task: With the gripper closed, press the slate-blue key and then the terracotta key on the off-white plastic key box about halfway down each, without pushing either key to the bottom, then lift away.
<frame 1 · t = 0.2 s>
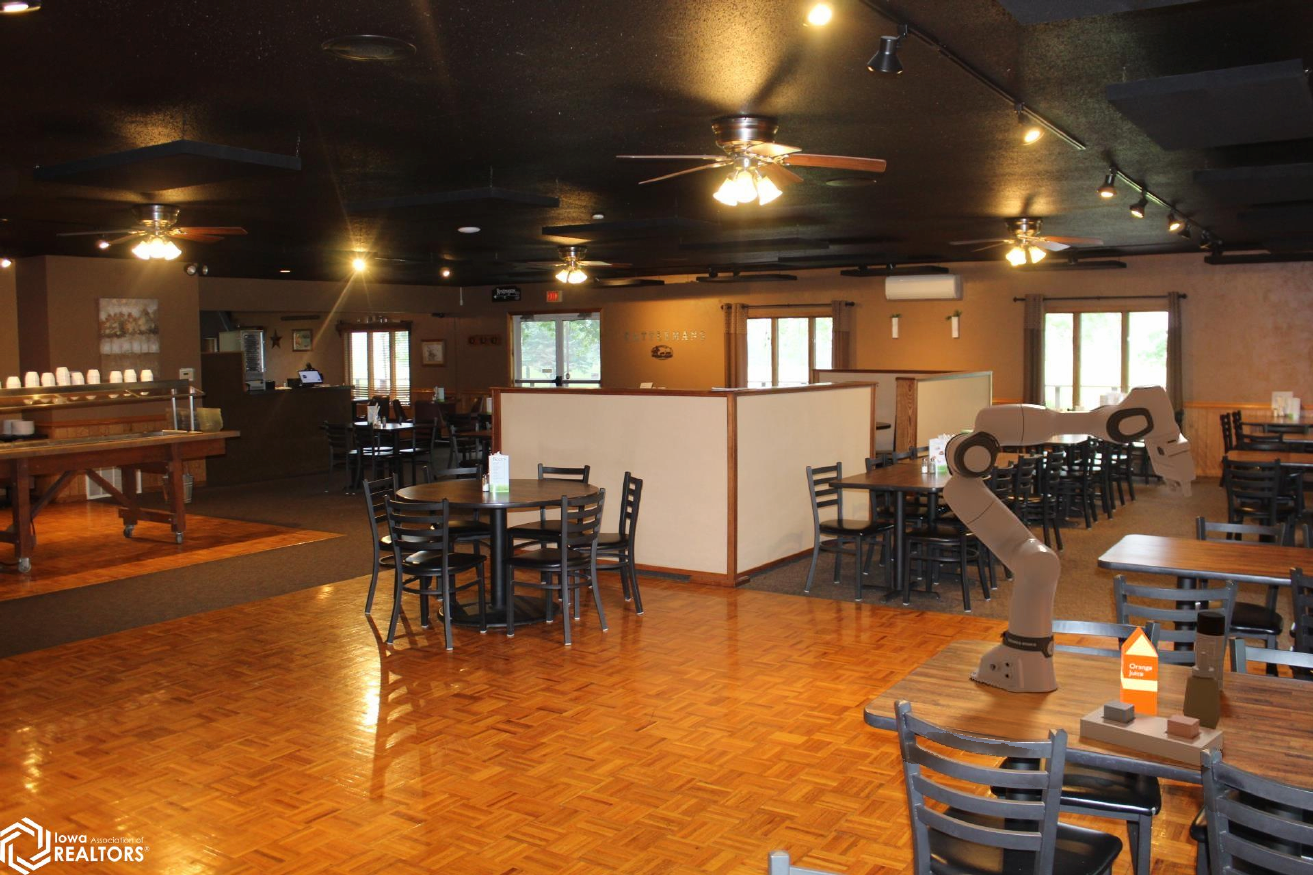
hand: (1181, 493, 271), 52 cm above the table, tool tilted 20°, fingers open, 8 cm apart
terracotta key: (1183, 728, 231), point 5 cm above the table, slide at 0.0 cm
orange juice: (1138, 708, 259), on the table
slate key: (1119, 713, 241), point 5 cm above the table, slide at 0.0 cm
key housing: (1149, 742, 236), on the table
spray can: (1208, 689, 274), on the table
squeeze bottle: (1201, 728, 245), on the table
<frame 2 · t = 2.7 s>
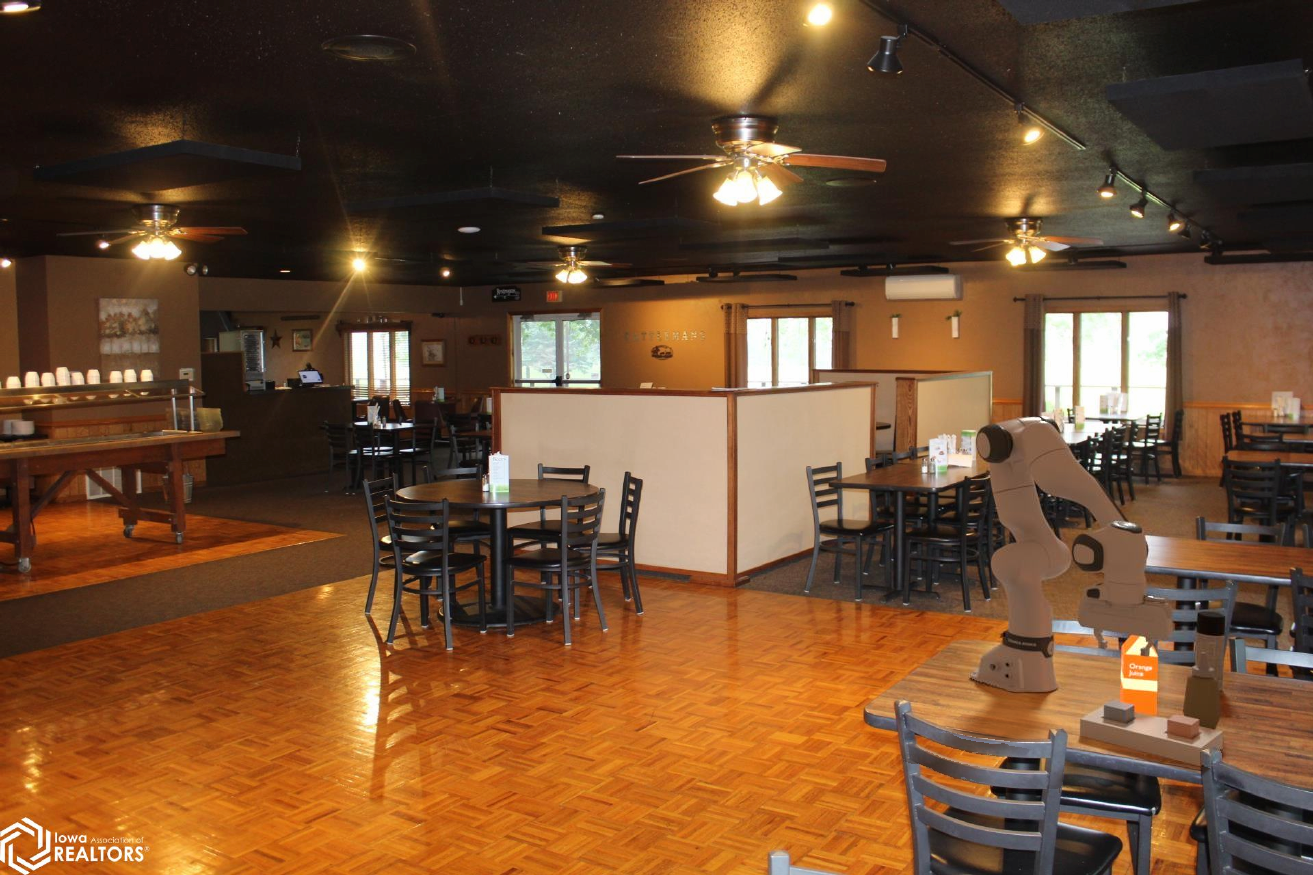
hand: (1123, 652, 240), 19 cm above the table, tool pointing down, fingers open, 8 cm apart
nothing on the table moved.
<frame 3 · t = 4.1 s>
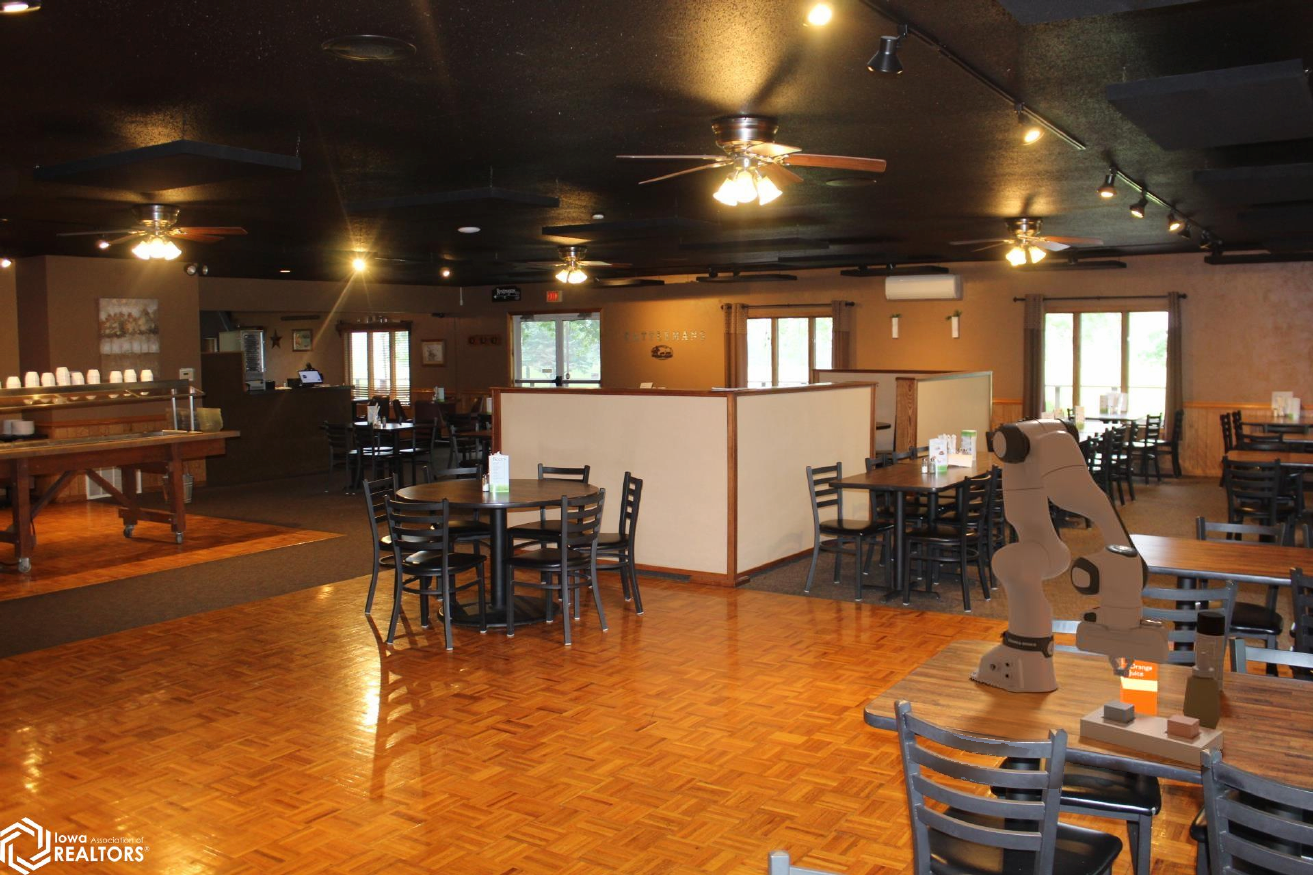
hand: (1121, 675, 240), 14 cm above the table, tool pointing down, fingers closed
nothing on the table moved.
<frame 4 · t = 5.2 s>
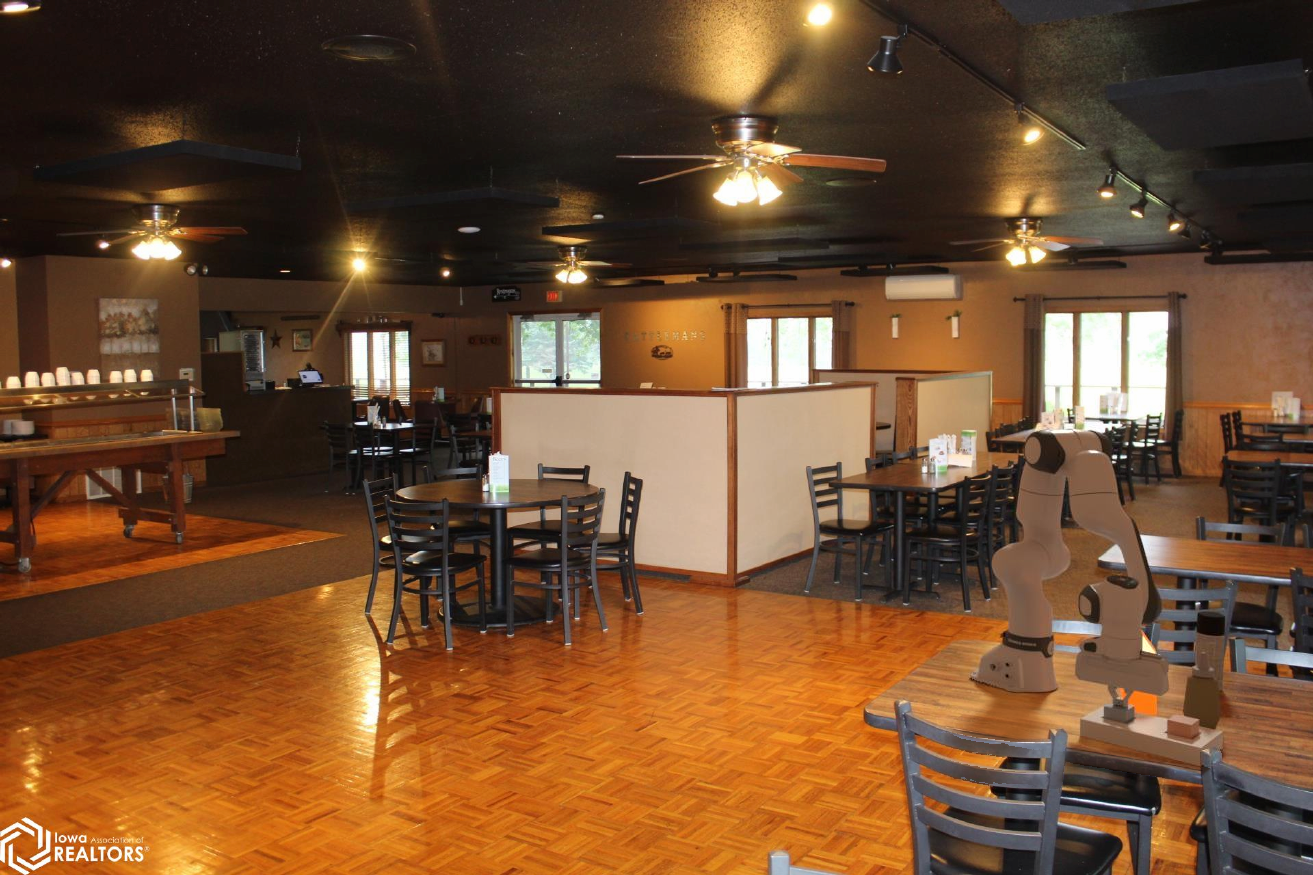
hand: (1120, 705, 240), 7 cm above the table, tool pointing down, fingers closed
slate key: (1119, 714, 241), point 5 cm above the table, slide at 0.2 cm, touching gripper
everything else where it was.
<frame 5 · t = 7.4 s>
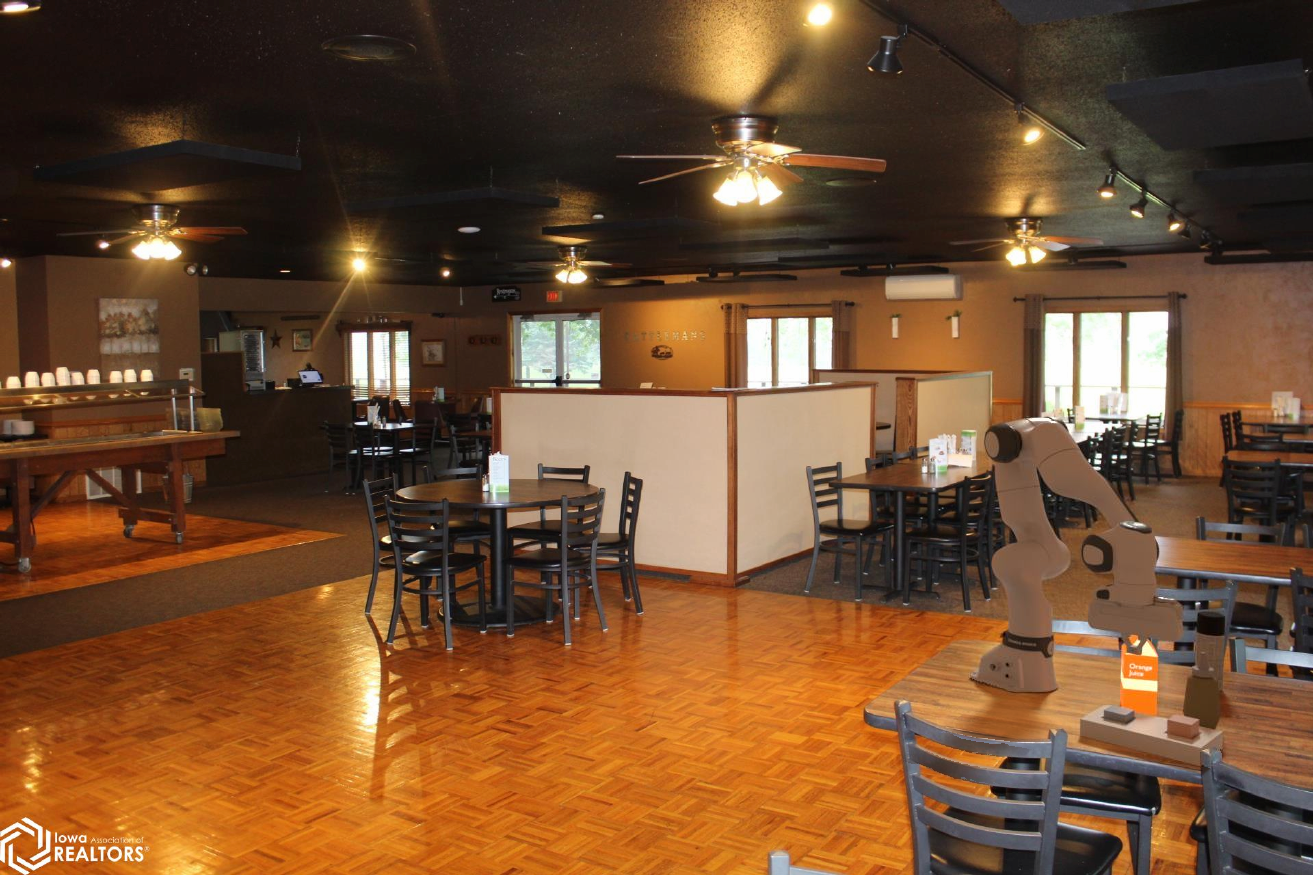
hand: (1134, 653, 237), 20 cm above the table, tool pointing down, fingers closed
slate key: (1118, 718, 241), point 4 cm above the table, slide at 1.2 cm
everything else where it was.
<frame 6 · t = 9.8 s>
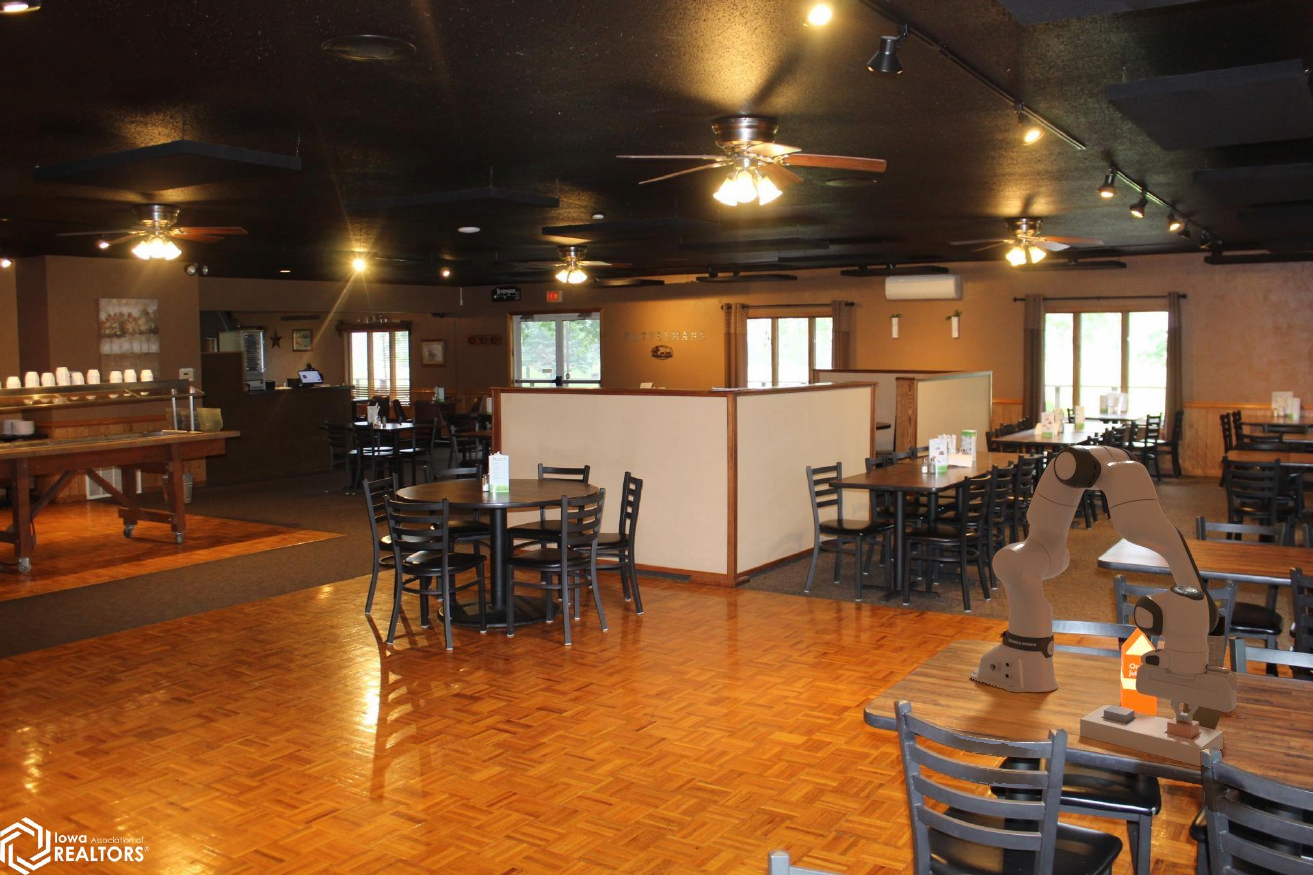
hand: (1184, 721, 231), 6 cm above the table, tool pointing down, fingers closed, pressing on terracotta key
terracotta key: (1183, 730, 231), point 4 cm above the table, slide at 0.6 cm, touching gripper
everything else where it was.
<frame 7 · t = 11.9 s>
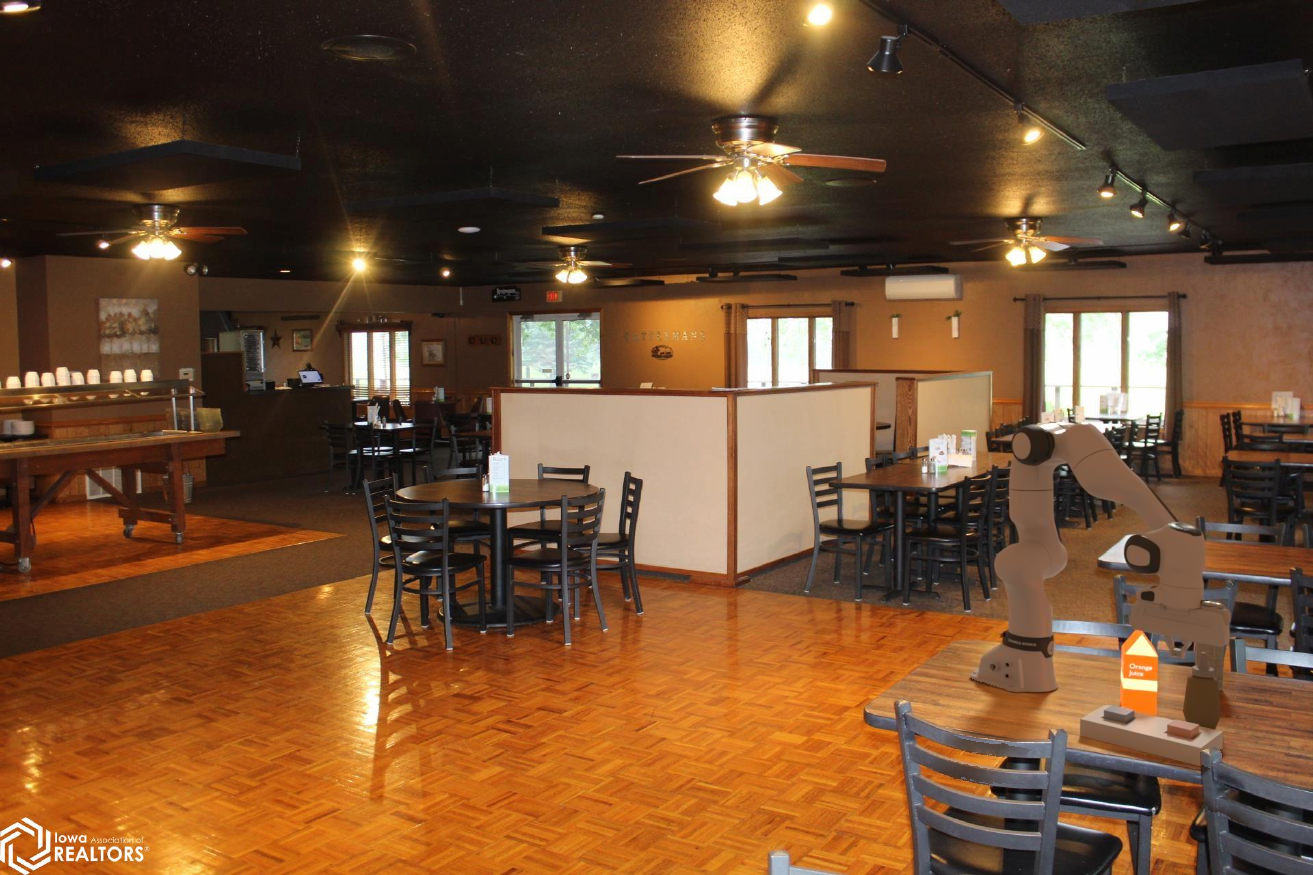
hand: (1177, 657, 233), 20 cm above the table, tool pointing down, fingers closed
terracotta key: (1182, 733, 231), point 4 cm above the table, slide at 1.2 cm
everything else where it was.
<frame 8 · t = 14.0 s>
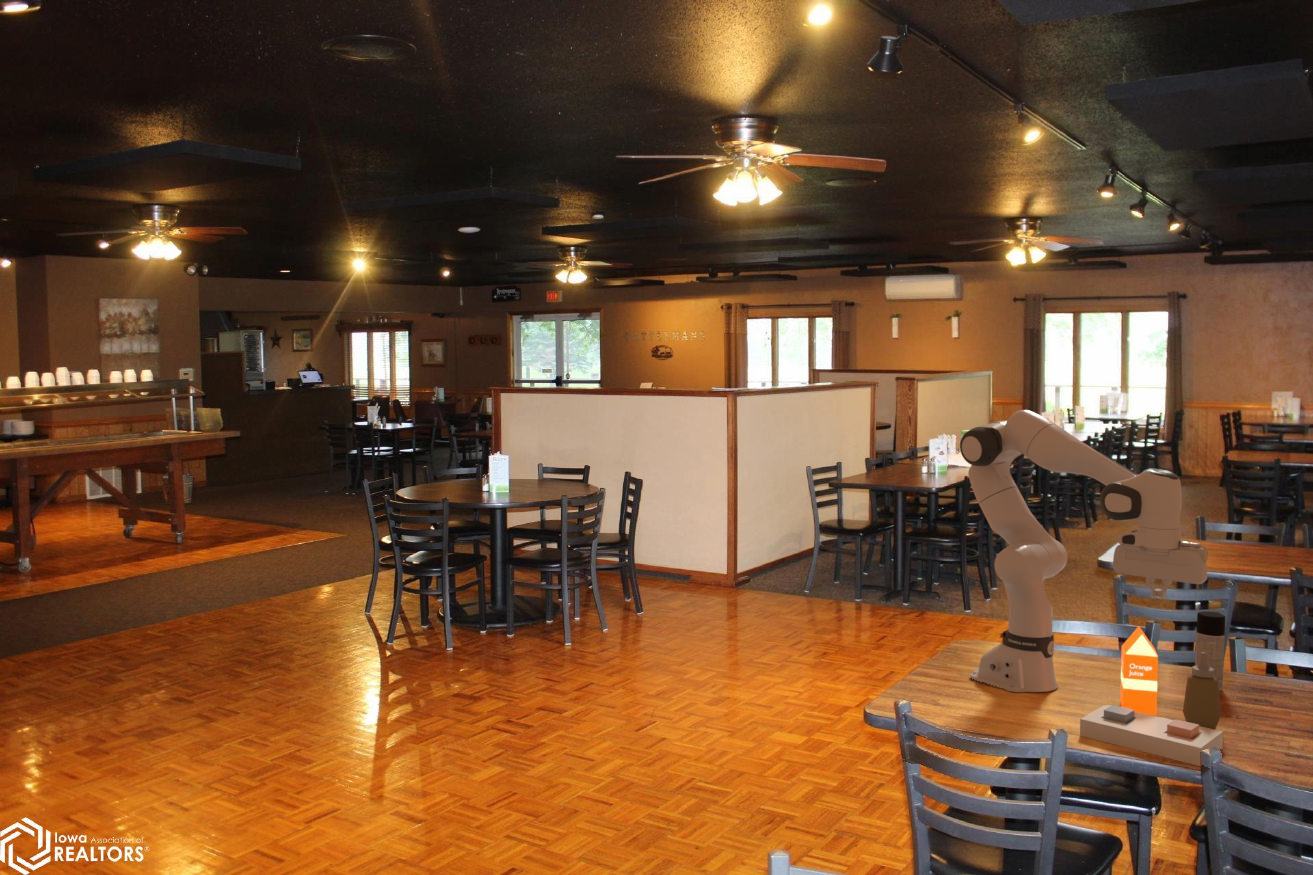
hand: (1158, 597, 244), 31 cm above the table, tool pointing down, fingers closed
nothing on the table moved.
at the end: slate key slide at 1.2 cm; terracotta key slide at 1.2 cm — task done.
